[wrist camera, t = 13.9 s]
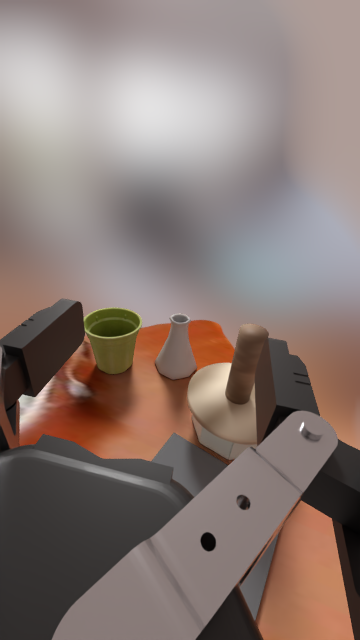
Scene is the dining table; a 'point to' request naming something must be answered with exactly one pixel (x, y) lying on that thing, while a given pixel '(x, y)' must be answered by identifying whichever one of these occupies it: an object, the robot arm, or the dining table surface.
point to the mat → (195, 475)
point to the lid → (230, 390)
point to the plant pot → (113, 337)
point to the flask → (177, 350)
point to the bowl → (219, 443)
